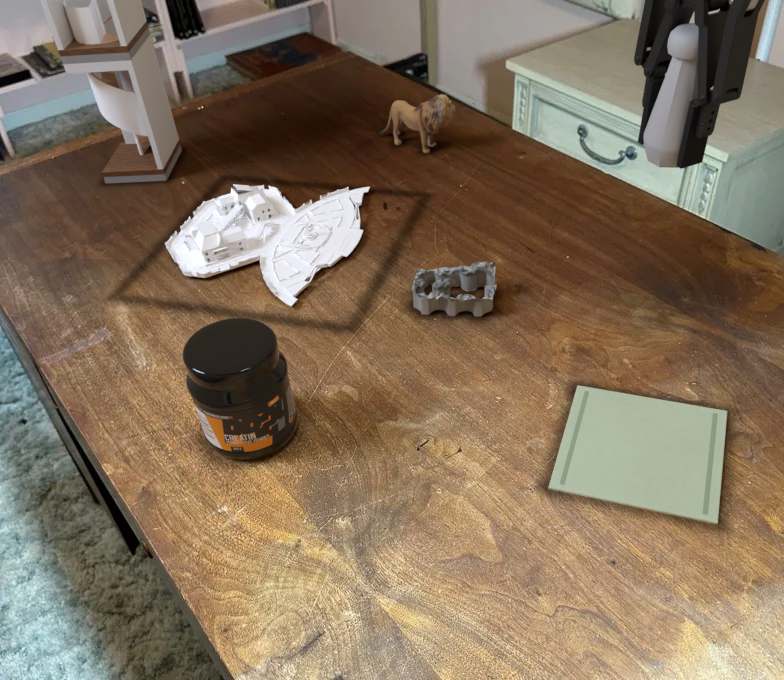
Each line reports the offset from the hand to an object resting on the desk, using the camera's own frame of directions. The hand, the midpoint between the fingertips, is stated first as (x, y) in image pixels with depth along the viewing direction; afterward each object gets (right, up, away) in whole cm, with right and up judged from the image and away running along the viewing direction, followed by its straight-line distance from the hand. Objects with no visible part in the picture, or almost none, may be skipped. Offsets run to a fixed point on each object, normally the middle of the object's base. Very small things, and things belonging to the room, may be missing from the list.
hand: (669, 151), depth 82 cm
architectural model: (-46, -1, +31) cm, 56 cm away
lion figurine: (-25, +21, +51) cm, 61 cm away
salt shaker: (0, -1, +1) cm, 1 cm away
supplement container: (-45, -30, +4) cm, 54 cm away
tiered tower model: (-73, +18, +52) cm, 91 cm away
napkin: (-4, -32, -2) cm, 32 cm away
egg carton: (-22, -12, +18) cm, 31 cm away
